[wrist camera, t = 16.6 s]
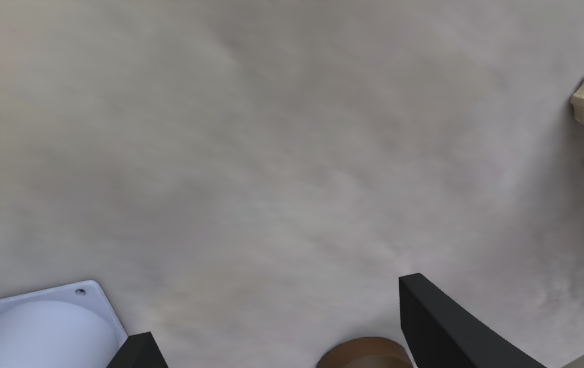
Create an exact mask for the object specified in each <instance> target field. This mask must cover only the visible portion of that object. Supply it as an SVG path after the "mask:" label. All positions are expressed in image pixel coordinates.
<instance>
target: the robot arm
mask: <svg viewBox="0 0 584 368" xmlns="http://www.w3.org/2000/svg"><path fill="white" fill-rule="evenodd" d="M79 289H82V290H84V291H80V290H79ZM399 297H400V320H401V329H402V331H403V334H404V336H405V339H406V341H407V344H408V346H409V349H410V351H411V353H412V356H413V358H414V361H415V363H416V365H417V367H418V368H547V367H545V366H544V365H542V364H541V363H539V362H538V361H536V360H535V359H533V358H531V357H530V356H528V355H527V354H526V353H524V352H523V351H521V350H520V349H518V348H517V347H515V346H514V345H512V344H511V343H509V342H508V341H507V340H505V339H504V338H502V337H501V336H500V335H498V334H497V333H495V332H494V331H493V330H491V329H490V328H489V327H487V326H486V325H485V324H483V323H482V322H481V321H479V320H478V319H477V318H475V317H474V316H473V315H471V314H470V313H469V312H468V311H466V310H465V309H464V308H462V307H461V306H460V305H459V304H457V303H456V302H455V301H454V300H452V299H451V298H450V297H449V296H447V295H446V294H445V293H444V292H443V291H441V290H440V289H439V288H438V287H436V286H435V285H434V284H433V283H432V282H430V281H429V280H428V279H427V278H426V277H424V276H423V275H422V274H420V273H416V274H411V275H407V276H402V277H399ZM0 368H168V366H167V364H166V362H165V360H164V358H163V356H162V354H161V352H160V350H159V348H158V346H157V344H156V342H155V340H154V338H153V336H152V334H151V332H146V333H141V334H137V335H132V336H129V337H128V336H127V334H126V332H125V330H124V329H123V327H122V325H121V323H120V321H119V319H118V318H117V316H116V314H115V312H114V310H113V309H112V307H111V305H110V303H109V301H108V299H107V298H106V296H105V294H104V292H103V290H102V289H101V287H100V285H99V284H98V283H97V282H96V281H93V280H87V281H82V282H78V283H73V284H68V285H63V286H59V287H54V288H49V289H45V290H40V291H35V292H31V293H26V294H21V295H16V296H12V297H7V298H2V299H0Z"/></svg>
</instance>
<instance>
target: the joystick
mask: <svg viewBox="0 0 584 368" xmlns="http://www.w3.org/2000/svg"><path fill="white" fill-rule="evenodd" d="M316 368H414V367H413V365H412V363H411V361H410V358H409V356H408V354H407V352H406V351H405V349H404V348H403V347H402V346H401V345H399V344H398V343H396V342H394V341H392V340H389V339H386V338H380V337H366V338H359V339H355V340H351V341H348V342H346V343H343V344H341V345H339V346H337V347H336V348H334V349H333V350H331V351H330V352H329V353H327V354H326V355H325V356H324V357H323V358H322V359H321V361H320V362H319V364H318V365H317V367H316Z"/></svg>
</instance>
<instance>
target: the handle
mask: <svg viewBox="0 0 584 368" xmlns="http://www.w3.org/2000/svg"><path fill="white" fill-rule="evenodd" d="M570 103H571V104H573V106H574V109H575V114H574V117H575V119H576V120H577V121H579V122H581V123H582V124H584V82H583V84H582V85H581V87H580V88H579V89H578V90H577V91H576V92H575V93H574V94H572V96H571V101H570Z"/></svg>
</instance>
